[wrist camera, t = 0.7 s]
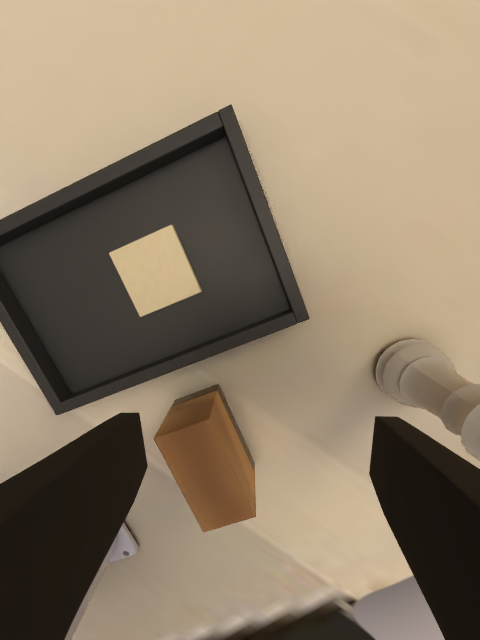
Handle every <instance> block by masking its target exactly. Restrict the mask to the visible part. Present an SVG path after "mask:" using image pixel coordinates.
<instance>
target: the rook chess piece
mask: <svg viewBox="0 0 480 640" xmlns="http://www.w3.org/2000/svg"><path fill="white" fill-rule="evenodd" d="M375 372H376V381H377V383H378V385H379V386H380V388H381V390H382V391H383V392H385V393H386V394H388V395H389V396H390V397H391V398H393V399H394V400H396V401H397V402H399V403H400V404H403V405H406V406H411V407H417V408H422V409H426V410H428V411H429V412H431V413H433V414H434V415H436V416H438V417H439V418H440V419H442V422H443V423H444V425H445V427H446V429H448V430H449V431H451V432H452V433H454V434H456V435H461V442H462V444H463V446H464V447H465V449H466V451H467V453H469V454H470V455H472V456H473V457H475V458H476V459H478V460H480V385H478V384H473V383H471V382H469V381H467V380H466V379H465V378H463V377H462V376H460V375H459V374H458V373H457V372H456V370H455V368H454V366H453V364H452V363H451V361H450V359H449V357H448V356H447V355H446V354H445V353H444V352H442V351H441V350H439V349H438V348H436V347H435V346H432V345H431V344H429V343H428V342H426V341H422V340H417V339H408V340H403V341H399V342H397V343H395V344H394V345H392V346H390V347H388V348H387V349H386V350H385V352H384V353H383V354H382V355H381V356H380V358H379V360H378V363H377V366H376V369H375Z"/></svg>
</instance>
